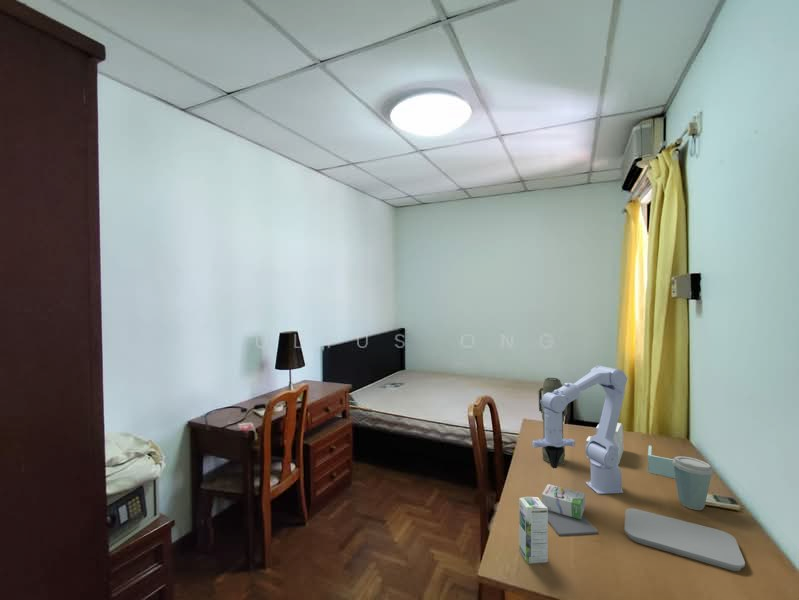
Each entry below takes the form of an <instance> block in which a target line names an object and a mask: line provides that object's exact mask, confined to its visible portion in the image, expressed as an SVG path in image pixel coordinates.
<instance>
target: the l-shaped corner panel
mask: <svg viewBox="0 0 799 600" xmlns="http://www.w3.org/2000/svg"><path fill="white" fill-rule="evenodd" d="M652 449H653V448H652V445H648V450H647V473H648V472H649V473H648V474H652V473H653V474H652V475H656V474H658V475H657V476H661V475H662V476H661V477H665V476H666V478H671V479H675V472H674V466H673V463H672V461H673V459H674V458H670V457H669V458H668V457H663V456H657V455H653V451H652ZM675 480H676V479H675Z"/></svg>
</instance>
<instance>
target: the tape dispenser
mask: <svg viewBox="0 0 799 600" xmlns="http://www.w3.org/2000/svg"><path fill="white" fill-rule="evenodd" d="M598 427H599V423H598V424H597V426H596V427H595V435H596V434H597V431H598ZM590 437H592V436H590V435H588V437H587V438H586V440H585V447H586V446H587V444H588V443H589V441H590ZM614 442H615V443H616V445H617V446H618V448H619V450H618V463H617V465H618V466H619V464H620V461H621V458H622V456H623V453H624V426H623V423H621V422H618V423H617V427H616V431H615V435H614ZM601 445H602V444H601ZM603 446H604V445H603ZM586 458H587V460H589V457H588V456H587V455H586Z"/></svg>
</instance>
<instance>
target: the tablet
mask: <svg viewBox="0 0 799 600" xmlns="http://www.w3.org/2000/svg"><path fill="white" fill-rule="evenodd" d="M624 532H625V534H626V535H627V537H628V539H630V540H631V541H633V542H635V543H639V544H640V545H645V546H648V547H651V548H655V549H659V550H661V551H665V552H669V553H672V554H674V555H679V556H682V557H686V558H689V559H693V560H695V561H699V562H702V563H704V564H705V563H706V564H709V565H712V566H716V567H719V568H723V569H725V570H728V571H729V570H730V571H734V572H740V571H741V570H742V568H744V567H745V566H746V562H745V559H744V557H743V556H744V555H743V554H742V551H741V550H740V549H741V548H740V547H739V544H738V542H737V539H736V538H735V537H734V536H733V535H732V534H730V533H728V532H727V531H723V530H720V529H717V528H713V527H709V526H705V525H701V524H697V523H693V522H688V521H685V520H681V519H677V518H673V517H670V516H665V515H662V514H658V513H653V512H649V511H645V510H641V509H638V508H627V509H625V513H624Z"/></svg>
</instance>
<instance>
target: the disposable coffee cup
mask: <svg viewBox="0 0 799 600" xmlns="http://www.w3.org/2000/svg"><path fill="white" fill-rule="evenodd" d="M672 459H673V461H672V463H673V466H674V472H675V483H676V484H675V485H676V489H677V490H676V491H677V498H678V502H679V504H681V506H683V507H686V508H688V509H691V510H695V511H702V510H703V509H704V507H706V502H707V498H708V492H709V488H710V483H711V478H712V475H713V474H714V469H713V467H712V466H711V465H710V464H709V463H707V462H705V461H703V460H701V459H697V458H695V457H689V456H679V455H678V456H675V457H674V458H672Z"/></svg>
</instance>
